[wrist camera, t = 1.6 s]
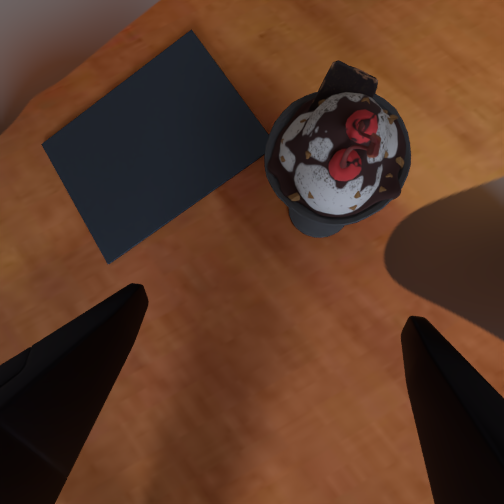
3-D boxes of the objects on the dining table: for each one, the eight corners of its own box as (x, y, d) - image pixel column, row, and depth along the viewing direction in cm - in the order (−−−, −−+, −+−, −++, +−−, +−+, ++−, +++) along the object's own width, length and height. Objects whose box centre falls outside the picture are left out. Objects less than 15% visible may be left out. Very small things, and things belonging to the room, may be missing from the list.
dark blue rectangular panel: (276, 146, 24) (276, 145, 24) (109, 264, 26) (107, 264, 26) (192, 31, 27) (191, 29, 27) (43, 145, 28) (41, 144, 28)
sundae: (323, 265, 23) (369, 240, 8) (262, 211, 24) (205, 101, 9) (381, 204, 23) (538, 62, 8) (316, 152, 24) (347, -56, 9)
